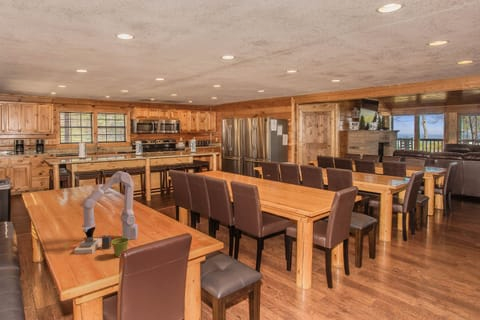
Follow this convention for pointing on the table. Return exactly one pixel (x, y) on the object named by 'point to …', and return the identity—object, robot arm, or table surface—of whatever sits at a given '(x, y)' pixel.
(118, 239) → the plant pot
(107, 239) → the plug
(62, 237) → the table surface
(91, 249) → the socket plate
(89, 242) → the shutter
